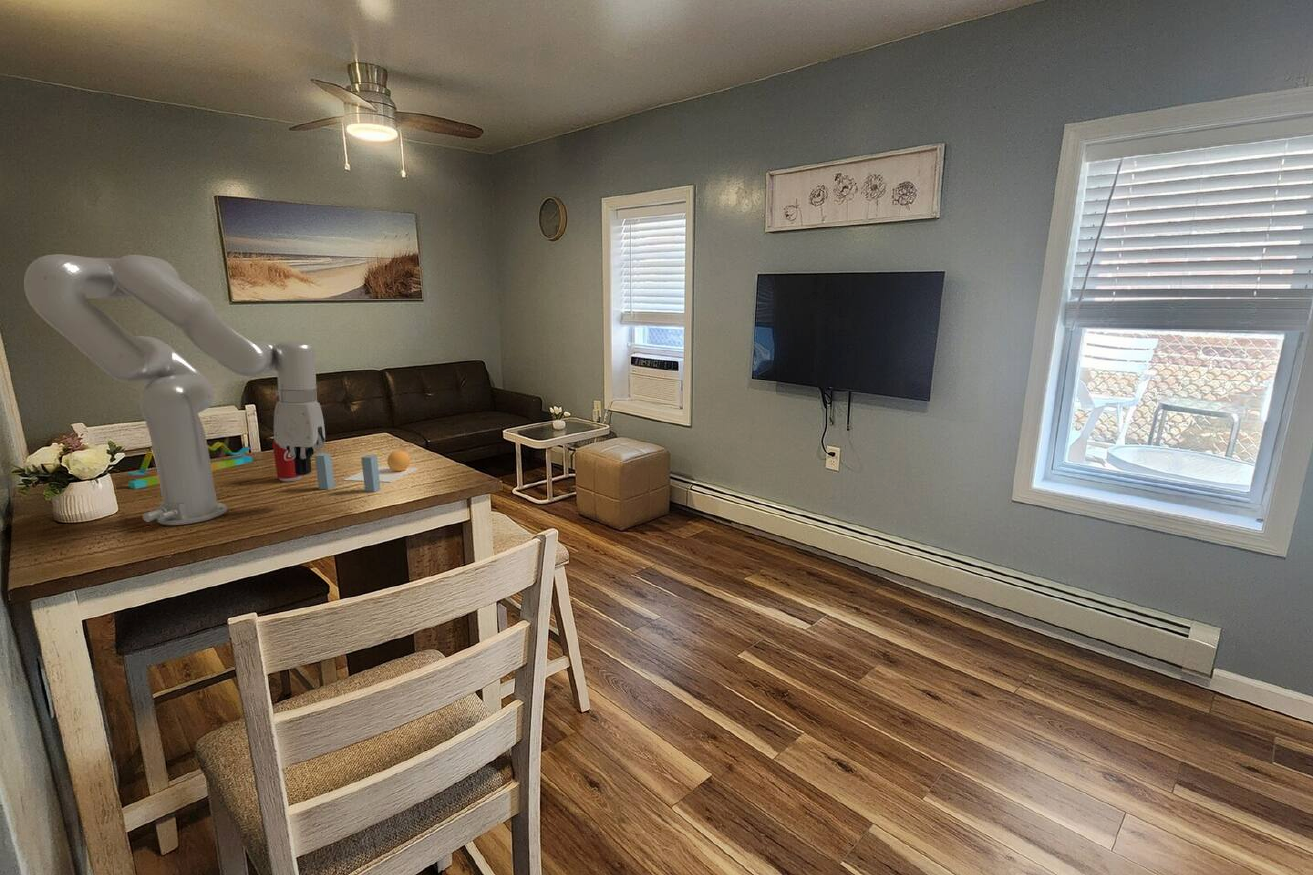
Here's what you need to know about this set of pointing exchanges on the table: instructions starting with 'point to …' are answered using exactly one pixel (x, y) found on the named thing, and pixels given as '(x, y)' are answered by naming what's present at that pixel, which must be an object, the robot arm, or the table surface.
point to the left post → (324, 471)
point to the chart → (214, 466)
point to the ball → (398, 460)
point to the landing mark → (384, 474)
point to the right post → (370, 473)
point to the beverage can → (284, 464)
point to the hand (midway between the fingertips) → (303, 473)
